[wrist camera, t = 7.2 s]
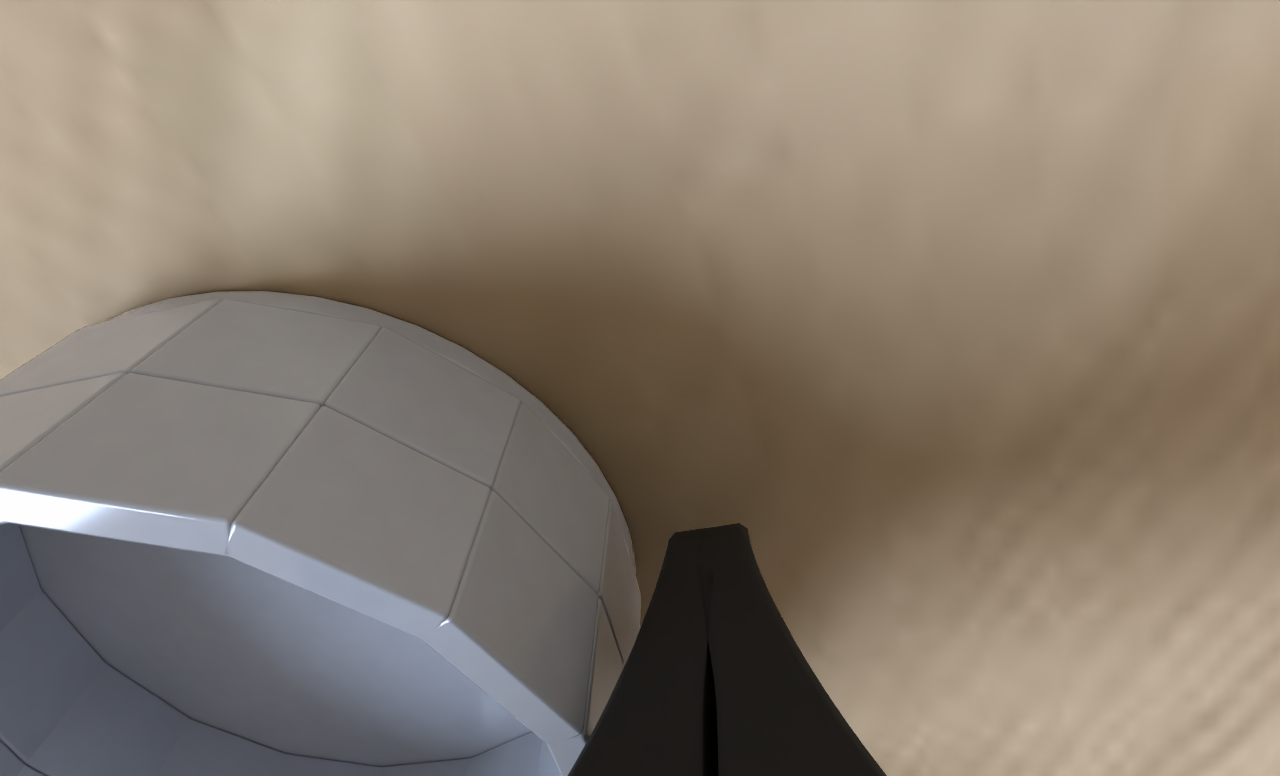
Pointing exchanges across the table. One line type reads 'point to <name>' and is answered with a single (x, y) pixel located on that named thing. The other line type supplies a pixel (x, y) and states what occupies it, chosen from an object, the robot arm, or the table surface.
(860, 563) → the table surface
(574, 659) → the pot
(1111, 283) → the table surface
